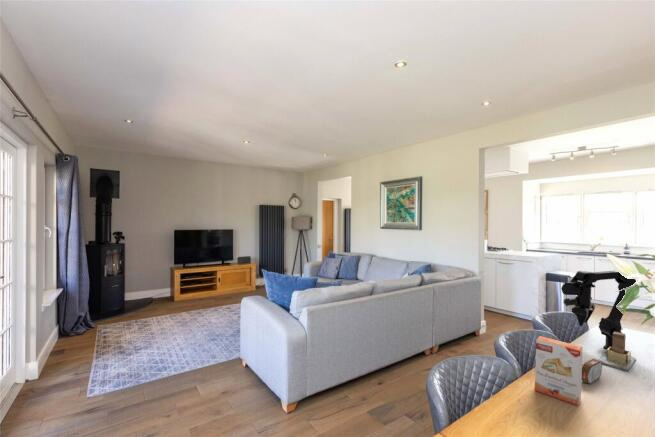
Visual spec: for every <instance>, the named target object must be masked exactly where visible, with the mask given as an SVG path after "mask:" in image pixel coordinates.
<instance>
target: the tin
mask: <svg viewBox="0 0 655 437" xmlns="http://www.w3.org/2000/svg"><path fill="white" fill-rule="evenodd" d="M602 368H603V364H602V362H600V361H598V359H595V358H592V359H590V360H588V361H585V362H584V363H582V380H581V382H584V383H586V384H589V385H590V384H593V383H594V382H595V381H598V380H599V379H600V377H601V375H602V371H603V370H602Z"/></svg>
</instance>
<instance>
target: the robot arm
mask: <svg viewBox="0 0 655 437" xmlns="http://www.w3.org/2000/svg"><path fill="white" fill-rule="evenodd" d="M618 271H619V270H618ZM618 271H617V270H616V269H614V270H608V271H607V270H606V271H594V272H593V271H585V270H579V271H576V272H575V275H574V276H573V277H572V279H571V280H570V281H564V283H563V285H561V288H560V289H561V292H562V294H563V295H565V296H575V297H574V298H569V297H568V298H565V299H563V304H564V306H566V307H569V306H574V307H572V308H571V313H572V314H574V315H575V316H576V319H577V322H578V326H580V327H583V325H584V324H585V323H586V324H587V323H588V321H589V320H590V318H591V316H592V314H593V313H594V312H595V309H596V305H595V304H594V303H592V299H593V297H592V288H596V285H595V284H593V283H597V281H605V280H614V281H615V282H616V283H617V284H618V286H617V289H618V295H617V297H616V299H615V301H614V304H613V305H612V308H611V310H610V312H609V314H608V316H606V317H601V318H600V321H599V322H598V329H599V330H600V333H601V335H603V336H605V341H604V342H605V344H604V345H603V347H602V348H604V349H606V350H607V349H608V348H609V347H610V346H611V347H612V341H613V333H614V332H618V333H623V332H622V323H621V321H622V318H623V316H624V314H622V313H621V312H620V311H619V310H618V309H617V308H616V305H617V304H618V303H619V302H620V301H621V300H622V298H623V296H624V295H625V290H622V291H619V290H621V289H623V288H626V287H629V286H631V285H633V284H634V283H635V282H636V279H635V278H634V279H627V278H625V277H624V276H622V275H621V274H620V273H619V272H618ZM625 339H626V335H625Z"/></svg>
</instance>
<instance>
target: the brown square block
mask: <svg viewBox="0 0 655 437" xmlns="http://www.w3.org/2000/svg"><path fill="white" fill-rule="evenodd" d="M625 336H626V333H623V332H622V333H618V332H614V333H613V341H612V351H614V352H617V353H621V354H625V350H626V338H625Z"/></svg>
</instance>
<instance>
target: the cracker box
mask: <svg viewBox="0 0 655 437" xmlns="http://www.w3.org/2000/svg"><path fill="white" fill-rule="evenodd" d="M535 342H536V343H535V344H536V345H535V368H534V369H535V370H534V372H535V373H534V391H536V392H539V393H542V394H544V395H546V396H550V397H553V398H555V399H558V400H561V401H563V402H566V403H569V404H572V405H575V406H577V407H579V405H580V403H581V400H582V381H581V380H582V366H583V346H581V345H576V344H573V343H568V342H564V341H561V340H556V339H553V338H550V337H549V338H548V337H546V336H545V337H544V336H541V335H539V336H538V337H537V338H536V341H535Z"/></svg>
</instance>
